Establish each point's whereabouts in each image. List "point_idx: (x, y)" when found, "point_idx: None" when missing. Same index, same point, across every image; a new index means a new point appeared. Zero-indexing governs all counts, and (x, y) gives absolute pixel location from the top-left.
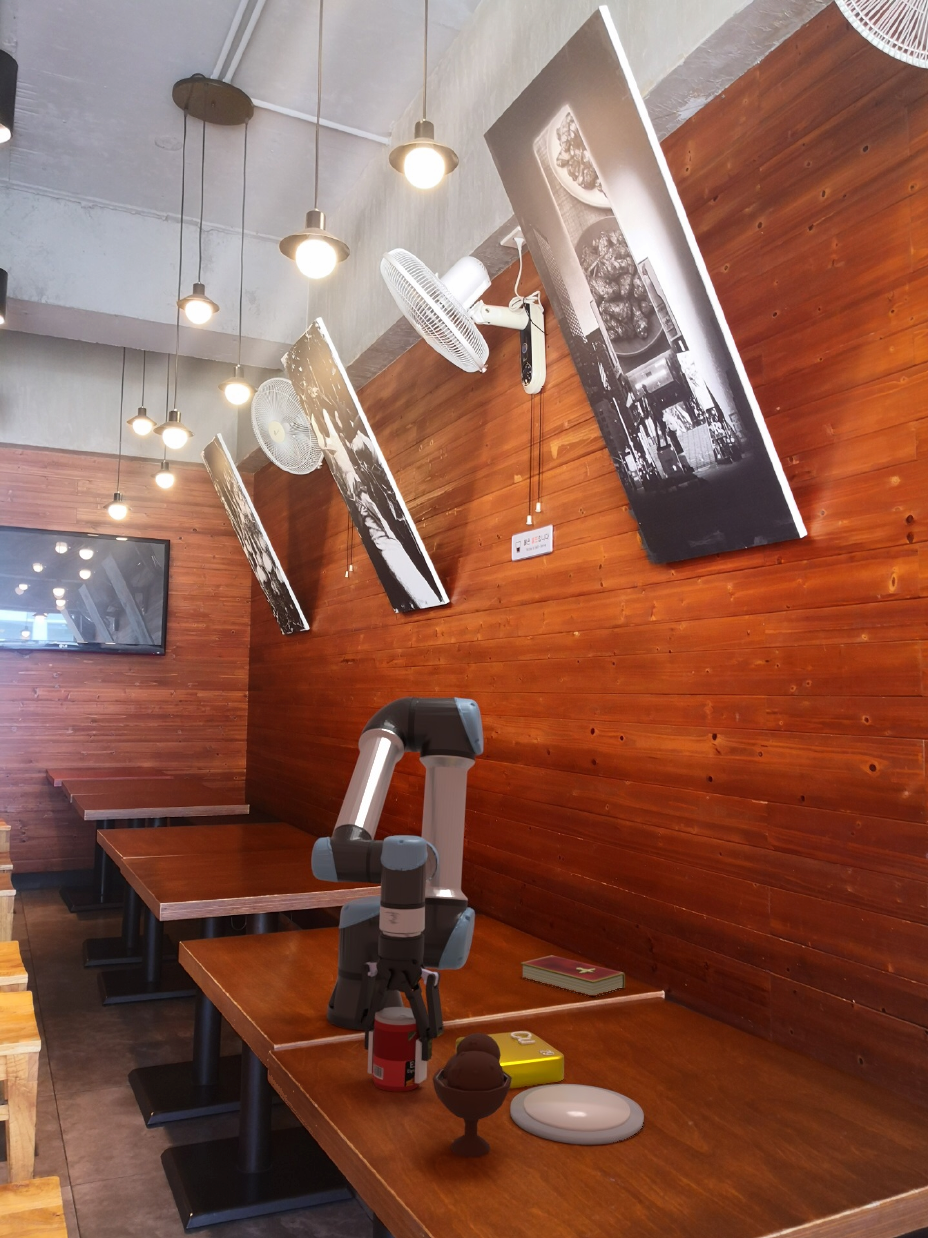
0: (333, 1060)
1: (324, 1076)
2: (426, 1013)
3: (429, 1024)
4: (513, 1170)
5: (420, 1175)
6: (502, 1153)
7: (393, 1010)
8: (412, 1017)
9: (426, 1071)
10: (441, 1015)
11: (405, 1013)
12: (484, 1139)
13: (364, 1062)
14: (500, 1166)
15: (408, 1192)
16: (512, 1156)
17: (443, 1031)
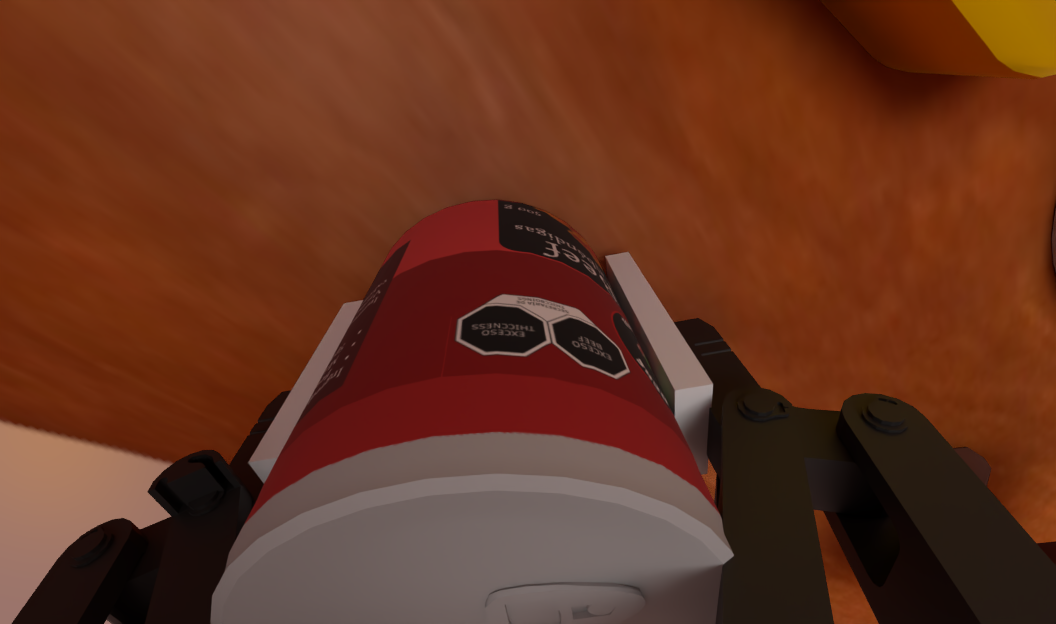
0: (26, 263)
1: (221, 405)
2: (823, 603)
3: (864, 591)
4: (1049, 494)
5: (843, 586)
6: (1019, 457)
7: (310, 583)
8: (628, 578)
9: (637, 268)
10: (1044, 569)
11: (480, 553)
12: (976, 460)
13: (141, 180)
14: (1015, 497)
15: (840, 618)
16: (1048, 455)
17: (918, 418)
